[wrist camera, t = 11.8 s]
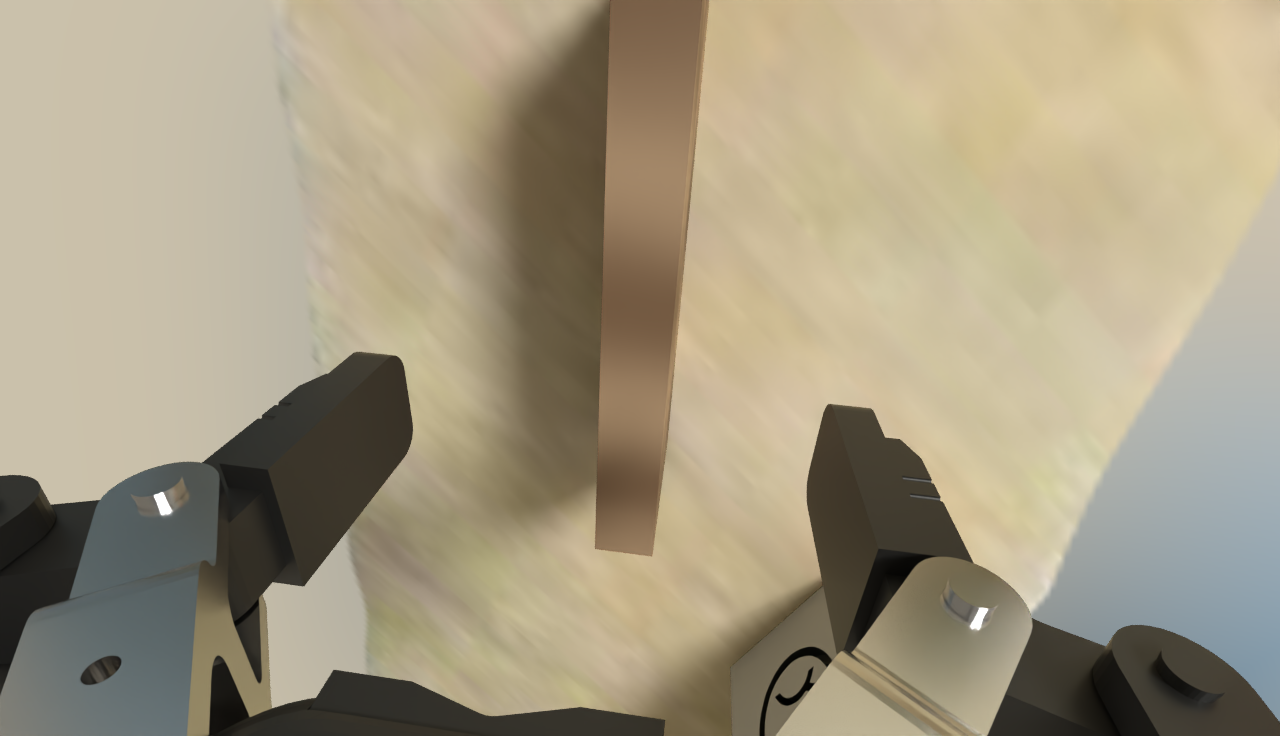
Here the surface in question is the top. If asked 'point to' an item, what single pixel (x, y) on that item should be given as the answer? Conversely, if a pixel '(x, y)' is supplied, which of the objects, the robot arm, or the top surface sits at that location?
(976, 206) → the top surface
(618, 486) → the walnut screen
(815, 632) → the icon cube
